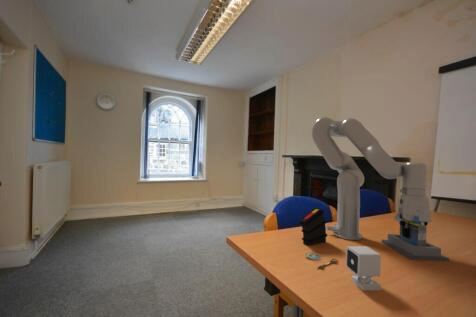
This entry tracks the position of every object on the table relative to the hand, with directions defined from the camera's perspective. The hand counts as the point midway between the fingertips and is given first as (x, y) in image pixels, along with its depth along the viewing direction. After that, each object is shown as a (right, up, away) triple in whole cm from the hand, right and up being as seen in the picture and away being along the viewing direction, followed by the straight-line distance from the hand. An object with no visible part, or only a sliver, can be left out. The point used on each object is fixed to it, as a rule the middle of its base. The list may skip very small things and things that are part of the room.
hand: (412, 236), depth 90 cm
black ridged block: (-39, -4, +4) cm, 40 cm away
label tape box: (0, -3, 0) cm, 3 cm away
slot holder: (0, -6, 0) cm, 6 cm away
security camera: (-35, -4, -27) cm, 44 cm away
